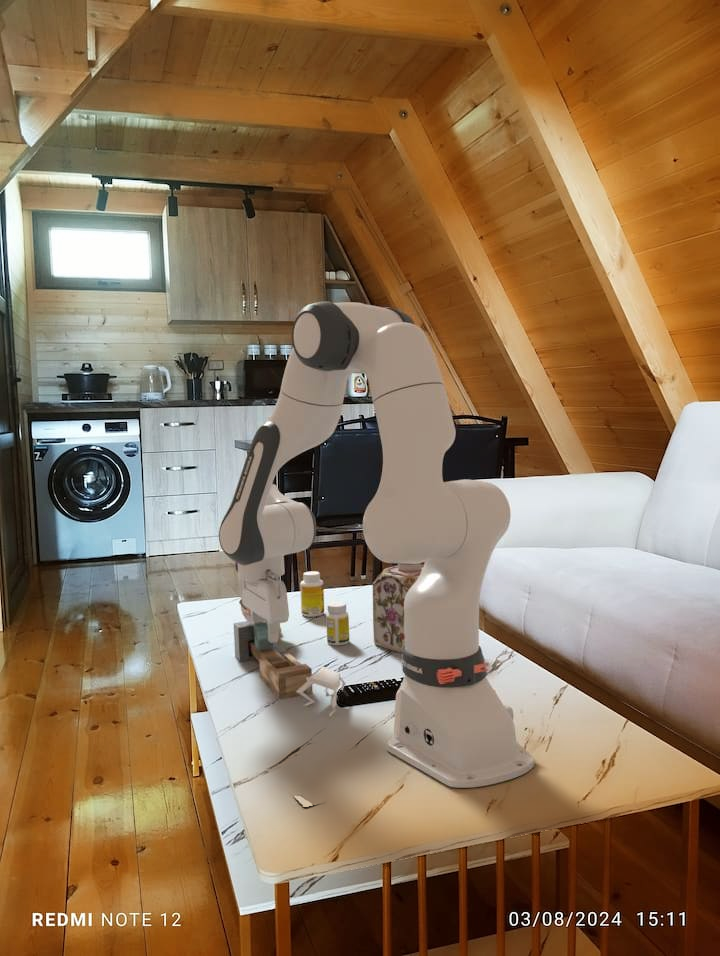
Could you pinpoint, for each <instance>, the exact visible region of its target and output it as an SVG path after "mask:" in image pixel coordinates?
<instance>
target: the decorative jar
mask: <svg viewBox="0 0 720 956" xmlns="http://www.w3.org/2000/svg"><path fill="white" fill-rule="evenodd" d="M423 567H424V564H422V562H421V563H417V564H397V565H394V566H390V567H387V568H384V569H383V570H381V571H382V572H380V574H379V575H377V576H376V579H375V580H374V581H373V583H372V624H373V628H372V630H373V641H374V643H373V644H374V645H375V646H378V647H381V648H384V649H388V650H389V651H394V652H397V653H400V654H402V649H403V647H404V645H405V626H404V600H405V596H406V594H407V592H408V590H409V589H410V588H411V586H412V585H413V584H414V583H415V582H416V580H417V579H418V577H419V576H420V574H421V572H422V569H423Z"/></svg>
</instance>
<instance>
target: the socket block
mask: <svg viewBox="0 0 720 956" xmlns="http://www.w3.org/2000/svg"><path fill="white" fill-rule="evenodd" d="M263 622H267V621H266V620H265V619H263ZM233 639H234V643H233V644H234V657H235V659H237V660H238V662H245V661H252V660H257V659H256V658H255V657H254V656H253V655H252V654H251V653H250V652H249V648H248V641H250V640H255V633H254V622H253V620H252V621H247V620H245V621H239V622H233ZM273 648H274V649H275V650H276V651H277V652H278V641H277V642H273ZM278 653H279V652H278Z"/></svg>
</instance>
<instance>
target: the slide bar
mask: <svg viewBox="0 0 720 956" xmlns="http://www.w3.org/2000/svg"><path fill="white" fill-rule="evenodd" d="M267 632H268V625H267V622H263V623H257V624H254V633H255V640H250V641H248V648H249V652H250V653H251V654H252V655H253V656H254V657H255V658H256V659H255V660H257V661H258V662H259V659H261V658H266V659H267V660H268V661H269V662H270V663H271V664H272V665H273V666H274V667H275V668H276V669H279V668H284V667H288V661H287V660H286V659H285V658H284V655H282V654H280V652H277V651H276V650H275V649H274V648H273V643H271V642H269V641H268V640H267Z"/></svg>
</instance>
